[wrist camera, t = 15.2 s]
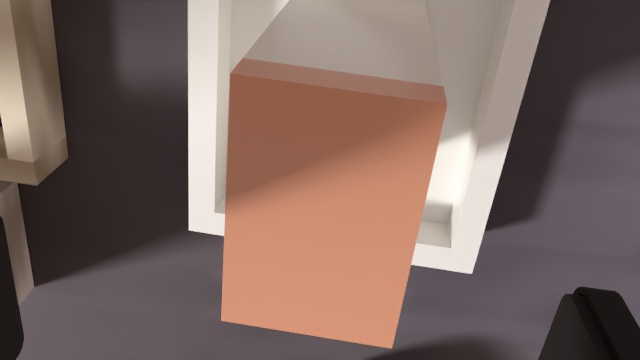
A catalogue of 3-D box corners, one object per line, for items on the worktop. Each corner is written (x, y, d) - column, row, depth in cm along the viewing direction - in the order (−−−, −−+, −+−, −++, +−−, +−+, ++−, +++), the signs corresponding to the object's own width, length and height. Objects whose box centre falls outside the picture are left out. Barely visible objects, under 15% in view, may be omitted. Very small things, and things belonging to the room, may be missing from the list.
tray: (464, 237, 24) (471, 273, 22) (206, 198, 25) (188, 230, 23) (558, -109, 18) (580, -106, 16) (211, -150, 19) (187, -152, 17)
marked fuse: (393, 159, 22) (391, 348, 13) (289, 143, 22) (221, 320, 14) (424, -3, 19) (447, 104, 11) (304, -19, 20) (230, 73, 11)
